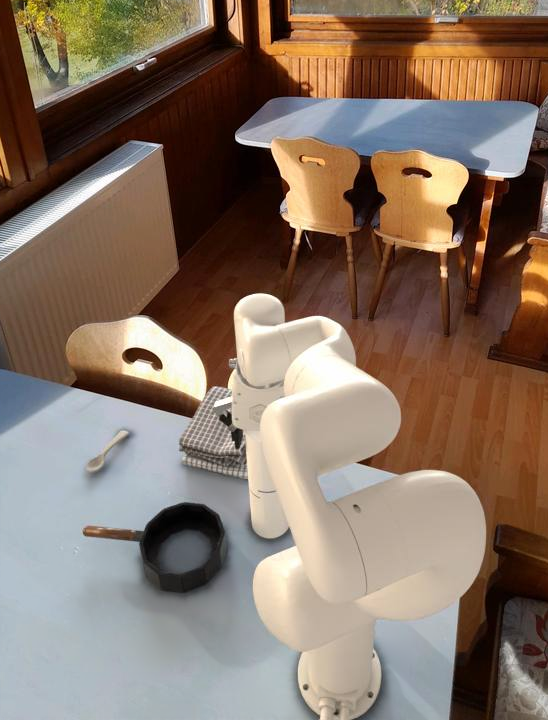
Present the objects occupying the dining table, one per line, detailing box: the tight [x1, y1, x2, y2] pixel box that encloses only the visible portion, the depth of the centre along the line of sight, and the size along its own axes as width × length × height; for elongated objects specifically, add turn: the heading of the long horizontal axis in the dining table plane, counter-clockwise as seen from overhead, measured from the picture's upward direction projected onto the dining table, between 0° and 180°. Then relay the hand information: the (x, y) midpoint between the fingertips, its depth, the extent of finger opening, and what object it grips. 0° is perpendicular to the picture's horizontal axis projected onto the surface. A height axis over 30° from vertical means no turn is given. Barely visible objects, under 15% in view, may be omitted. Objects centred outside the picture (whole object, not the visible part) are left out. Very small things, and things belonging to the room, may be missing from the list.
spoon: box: [85, 429, 130, 474], centre depth 136 cm, size 3×12×2 cm, turn 159°
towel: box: [178, 385, 248, 480], centre depth 137 cm, size 15×18×8 cm
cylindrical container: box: [245, 430, 290, 539], centre depth 117 cm, size 7×7×25 cm
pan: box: [82, 501, 228, 594], centre depth 117 cm, size 14×25×4 cm, turn 84°
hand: (267, 445), depth 112 cm, fingers open, 9 cm apart
